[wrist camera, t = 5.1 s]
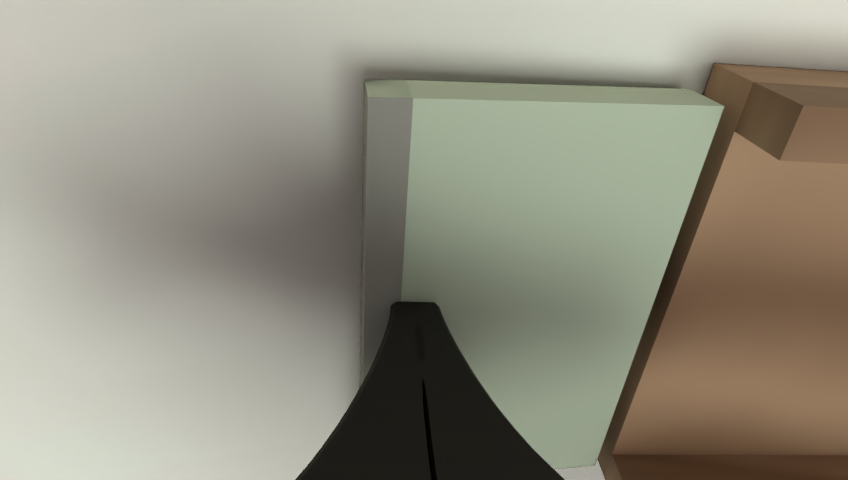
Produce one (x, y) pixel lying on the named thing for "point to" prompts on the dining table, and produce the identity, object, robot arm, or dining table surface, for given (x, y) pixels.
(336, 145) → the dining table surface
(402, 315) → the robot arm
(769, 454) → the tray
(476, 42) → the dining table surface
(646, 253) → the panel
